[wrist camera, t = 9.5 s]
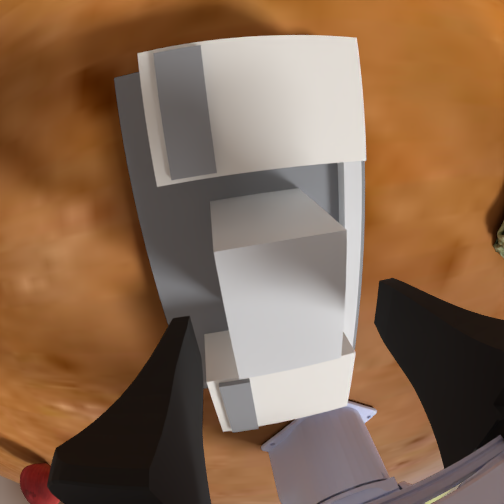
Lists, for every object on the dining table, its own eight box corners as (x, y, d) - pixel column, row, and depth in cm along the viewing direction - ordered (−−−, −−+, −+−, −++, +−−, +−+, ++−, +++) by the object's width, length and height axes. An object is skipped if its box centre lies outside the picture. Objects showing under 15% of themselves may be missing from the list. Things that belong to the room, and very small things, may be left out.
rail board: (347, 348, 23) (376, 400, 18) (190, 378, 22) (191, 439, 17) (347, 57, 14) (403, 42, 9) (120, 80, 13) (82, 67, 8)
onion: (26, 460, 26) (14, 507, 19) (27, 446, 25) (13, 498, 18) (64, 478, 28) (56, 524, 21) (69, 465, 27) (60, 518, 20)
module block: (304, 288, 18) (341, 357, 13) (227, 302, 18) (239, 379, 13) (298, 188, 16) (346, 230, 10) (210, 201, 16) (213, 252, 10)
